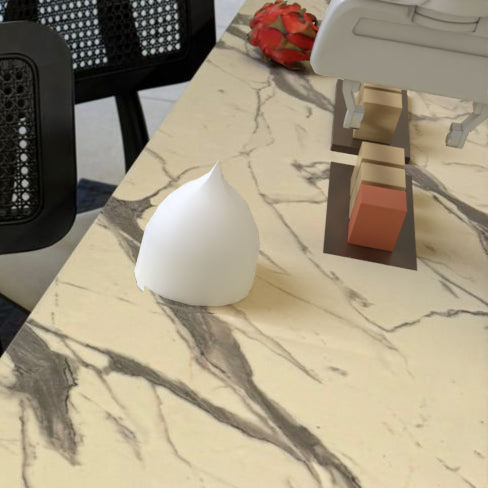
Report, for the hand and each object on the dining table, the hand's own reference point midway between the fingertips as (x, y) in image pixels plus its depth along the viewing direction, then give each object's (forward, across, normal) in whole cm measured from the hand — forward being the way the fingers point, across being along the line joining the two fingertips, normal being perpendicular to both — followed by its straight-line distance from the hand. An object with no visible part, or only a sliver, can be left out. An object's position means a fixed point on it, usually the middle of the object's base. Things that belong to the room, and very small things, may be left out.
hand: (401, 136), depth 96 cm
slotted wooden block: (+11, 0, -33) cm, 35 cm away
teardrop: (+12, +16, +14) cm, 24 cm away
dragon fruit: (+12, +12, -49) cm, 52 cm away
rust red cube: (+10, 0, 0) cm, 11 cm away
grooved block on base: (+11, 0, -6) cm, 13 cm away
